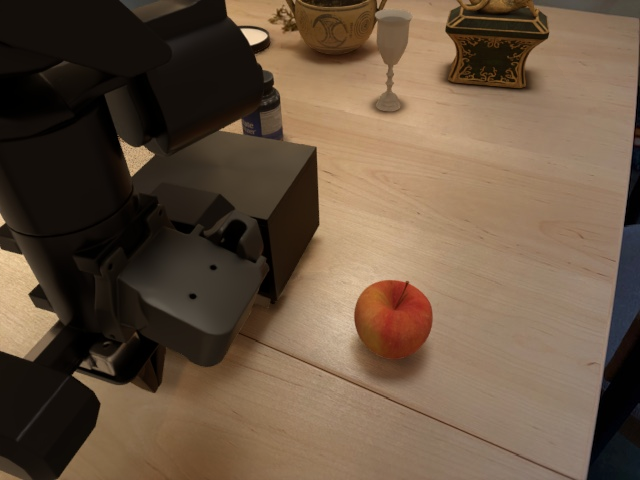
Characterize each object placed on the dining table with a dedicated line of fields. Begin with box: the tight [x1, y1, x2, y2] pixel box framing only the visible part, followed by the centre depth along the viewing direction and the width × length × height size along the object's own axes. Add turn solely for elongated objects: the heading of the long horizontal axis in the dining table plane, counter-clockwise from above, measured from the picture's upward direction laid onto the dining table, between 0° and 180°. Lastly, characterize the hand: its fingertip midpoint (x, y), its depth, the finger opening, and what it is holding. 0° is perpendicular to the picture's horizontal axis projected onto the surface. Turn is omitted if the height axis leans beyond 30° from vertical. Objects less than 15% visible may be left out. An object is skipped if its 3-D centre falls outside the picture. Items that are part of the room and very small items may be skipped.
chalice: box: [375, 8, 414, 112], centre depth 85 cm, size 6×6×15 cm
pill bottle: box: [240, 69, 285, 141], centre depth 78 cm, size 6×6×11 cm
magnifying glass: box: [237, 25, 271, 53], centre depth 113 cm, size 12×24×2 cm, turn 71°
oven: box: [131, 130, 321, 306], centre depth 58 cm, size 13×16×13 cm
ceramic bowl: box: [285, 0, 388, 56], centre depth 104 cm, size 22×17×15 cm
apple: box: [353, 279, 434, 360], centre depth 50 cm, size 7×7×8 cm
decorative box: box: [444, 0, 550, 89], centre depth 91 cm, size 20×10×20 cm, turn 74°
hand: (152, 386), depth 35 cm, fingers closed
